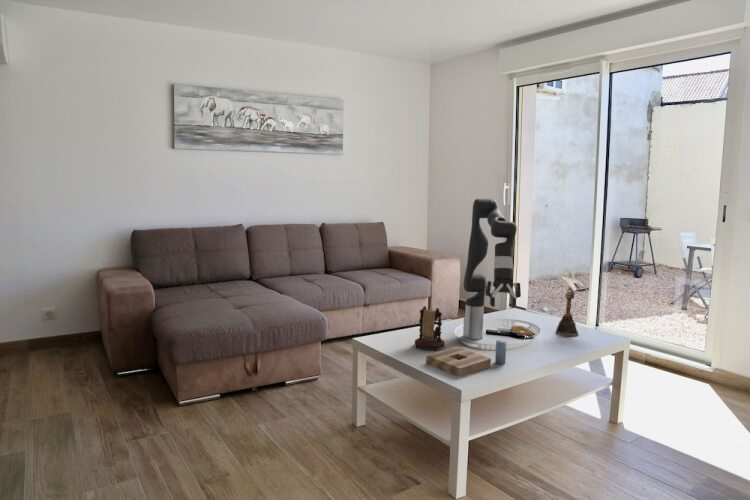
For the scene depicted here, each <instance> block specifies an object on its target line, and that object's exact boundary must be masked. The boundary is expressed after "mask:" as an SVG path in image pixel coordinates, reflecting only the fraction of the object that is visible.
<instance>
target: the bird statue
mask: <svg viewBox="0 0 750 500" xmlns="http://www.w3.org/2000/svg"><path fill="white" fill-rule="evenodd" d="M571 273H572V272H571V270H570V269H568V270H567V275H566V276H563V275H562V276H560V279H561V280H562V281H563V282H565V284H566V285H568V288H567V289H565V292H564V298H565V299H566V305H565V307H566V308H565V313H563V315H562V318H561V319H560V321H559V322H558V325H557V326H556V329H555V334H556V335H560V336H562V337H570V338H573V337H577V336H579V331H578V330H577V327H576V325H577V324H576V322H575V320H574V319H573V314H572V313H571V307H572V300H573V299H574V297H575V294H576V292H577V293H578V292H580V293H581V292H585V291H588V292H589V291H590V287H587V286H585V285H584V284H583V283H582V282H581V281H580V280H579V279H578V276H579V275H577V274H578V273H576V274H575V275H574V274H571Z"/></svg>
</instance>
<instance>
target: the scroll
mask: <svg viewBox="0 0 750 500" xmlns="http://www.w3.org/2000/svg"><path fill="white" fill-rule="evenodd" d="M419 314H420V315H419V316H420V317H419V320H418V321H419V330H418V331H419V335H418V336H419V337H418V338H416V339H415V340H414V345H415V347H416V349H418V348H421V349H429V350H433V351H434V352H437V349H441V348H444V347H446V346H445V345H446V342H445V341H444V340H443V339H442V337H441V335H442V328H441V327H442V325H443V323H442V315H443V314H442V312H441V311H440V309H439V308H438V307H436V308H435V310H432V309H427V306H426V305H425V306H423V307H422V309H420V310H419ZM435 326H436V327H435Z"/></svg>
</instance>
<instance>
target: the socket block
mask: <svg viewBox="0 0 750 500" xmlns="http://www.w3.org/2000/svg"><path fill="white" fill-rule="evenodd" d="M491 363H492V358H491V357H488V356H485V355H482V354H480V353H476V352H473V351H471V350H468V349H464V348H462V347H460V346H453V347H451V348H448V349H444V350H439V351H435V352H433V353H430V354H425V364H426V365H429V366H430V367H433V368H436V369H438V370H440V371H442V372H445V373H447V372H448V374H450V375H453V376H455V377H457V376H458V377H457V378H459V377H460V378H462V376H463V377H465V375H466V376H468V374H469V375H471V374H474V373H477V372H478V373H479V372H481V371H484V370H487V369H489V368H492V367H491V365H492V364H491Z"/></svg>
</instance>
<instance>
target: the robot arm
mask: <svg viewBox="0 0 750 500" xmlns="http://www.w3.org/2000/svg"><path fill="white" fill-rule="evenodd" d="M499 207H500V206H499V205H498V203H497V201H496V200H495V199H493V198H477V199H475V200H474V201H473V204H472V212H471V213H472V214H471V215H472V216H471V217H472V218H471V229H470V237H469V244H468V251H467V264H466V269H465V273H464V279H463V289H464V291H465V293H466V292H467V293H476V294H474V295H473V296H470V297H467V298H466V300H465V317H463V326H462V327H463V331H462V336H463V337H465V338H466V339H469V340H481V339H483V333H484V316H485V315H484V313H485V312H484V311H485V297H489V304H490V306H491V307H492V308H494V307H495V306H496V305H495V303H496V297H495V296H496V295H497V294H498V293H504V294H506V293H507V294H508V295H509V296H510V302H511V303H510V308H511V309H515V307H517V298H520V297H522V295H521V291H522V290H521V283H520V282H513V277H514V276H513V275H514V274H513V272H514V271H513V269H514V266H513V244H514V240H515V236H516V234H517V225H516V223H515V222H513V221H509V220H507V219H506V218H505V217H504V215H503V214H502V212H501V211H500V208H499ZM480 219H487V224H488V225H489V227H490V234H491V236H492V237H494V238H498V239H499V238H500V239H501V238H502V239H503V238H504V239H506V240H505V241H504V242H498V243H496V244H495V245H494V261H493V281H490V280H488V281H487V280H486V276H485V275H484V274H481V273H479V274H477V273H476V274H474V273H475V270H476V269H477V267H478V266H479V265H480V264H481V263H482V262H483V261H484V259H485V258H486V257H487V255H488V250H489V240H488V238H487V236H486V234H485V232H484V231H483V229H482V226H481V224H480ZM491 287H494V288H493V290H492V291H491ZM513 287H514V289H515V291H514V290H513V289H512V288H513Z"/></svg>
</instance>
